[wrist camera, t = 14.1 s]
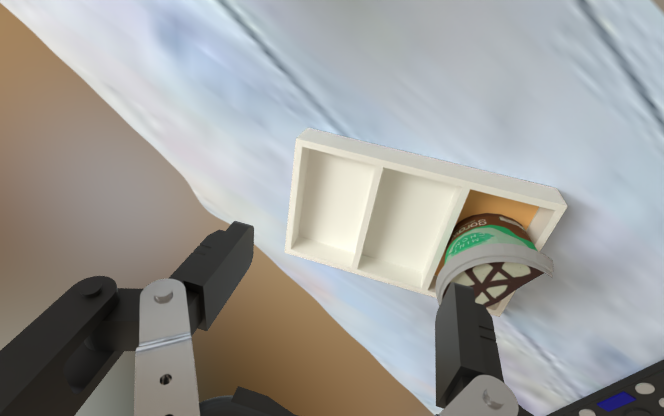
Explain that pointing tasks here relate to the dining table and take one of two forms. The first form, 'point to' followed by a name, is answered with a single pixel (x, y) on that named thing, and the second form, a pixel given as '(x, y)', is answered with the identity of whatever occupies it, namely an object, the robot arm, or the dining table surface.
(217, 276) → the robot arm
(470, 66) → the dining table surface
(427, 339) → the dining table surface
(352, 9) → the dining table surface
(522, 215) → the cream compartment tray
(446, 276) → the food container
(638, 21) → the dining table surface
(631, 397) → the remote control
